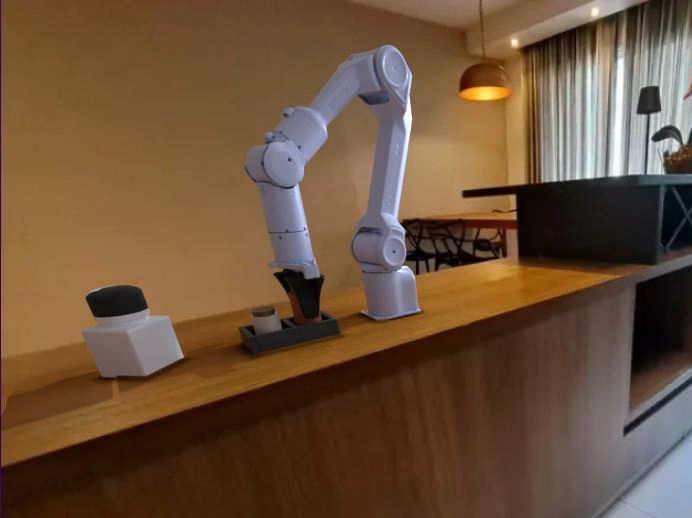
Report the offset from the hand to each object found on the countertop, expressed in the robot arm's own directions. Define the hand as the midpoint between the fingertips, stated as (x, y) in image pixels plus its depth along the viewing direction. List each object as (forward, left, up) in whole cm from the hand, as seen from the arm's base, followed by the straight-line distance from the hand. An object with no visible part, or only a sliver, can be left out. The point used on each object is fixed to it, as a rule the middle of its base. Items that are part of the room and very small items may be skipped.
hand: (307, 314), depth 75 cm
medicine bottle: (+23, -3, -4) cm, 24 cm away
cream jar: (+6, 0, -3) cm, 7 cm away
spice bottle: (0, 0, -2) cm, 2 cm away
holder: (+3, 0, -4) cm, 5 cm away
